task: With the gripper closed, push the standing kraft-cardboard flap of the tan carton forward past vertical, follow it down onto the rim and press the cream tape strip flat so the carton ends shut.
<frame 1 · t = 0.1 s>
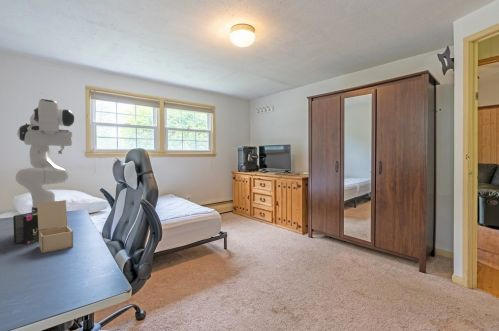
hand: (49, 153, 134), 48 cm above the table, fingers open, 8 cm apart
lid: (52, 214, 130), point 15 cm above the table, hinge at 105.0°
tampon box: (31, 240, 133), on the table
carton: (55, 246, 123), on the table
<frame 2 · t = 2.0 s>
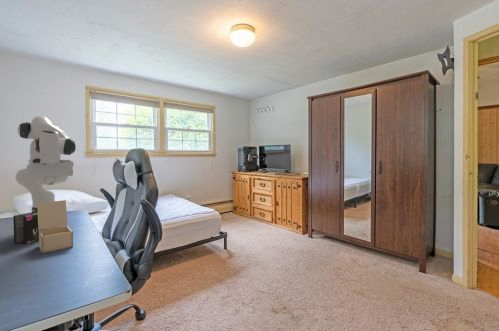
hand: (50, 185, 133), 30 cm above the table, fingers closed
nothing on the table moved.
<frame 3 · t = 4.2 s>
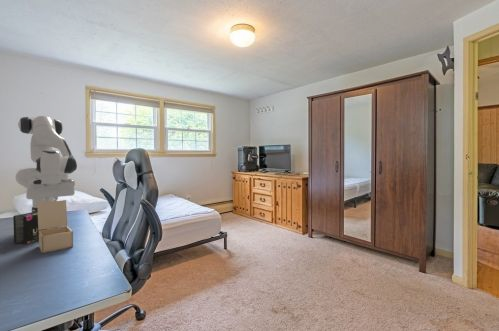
hand: (51, 205, 131), 19 cm above the table, fingers closed, pressing on lid
lid: (52, 214, 130), point 15 cm above the table, hinge at 101.4°, touching gripper
everything else where it was.
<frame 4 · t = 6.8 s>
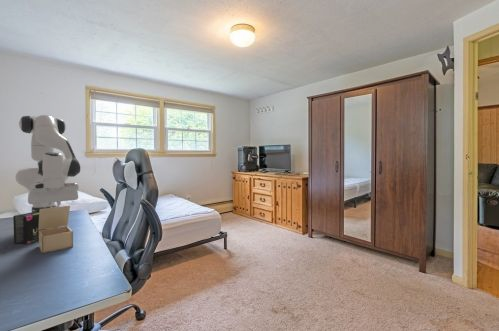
hand: (54, 210, 125), 18 cm above the table, fingers closed, pressing on lid
lid: (54, 217, 126), point 14 cm above the table, hinge at 55.2°, touching gripper
everything else where it was.
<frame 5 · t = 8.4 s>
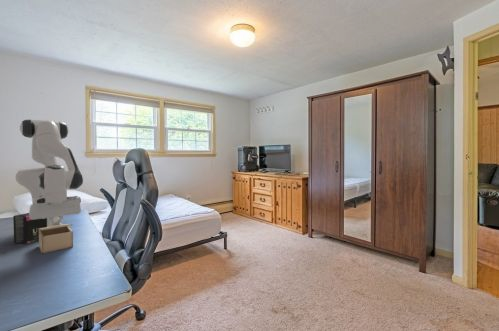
hand: (56, 225, 121), 12 cm above the table, fingers closed, pressing on lid
lid: (55, 226, 124), point 10 cm above the table, hinge at 11.3°, touching gripper
everything else where it was.
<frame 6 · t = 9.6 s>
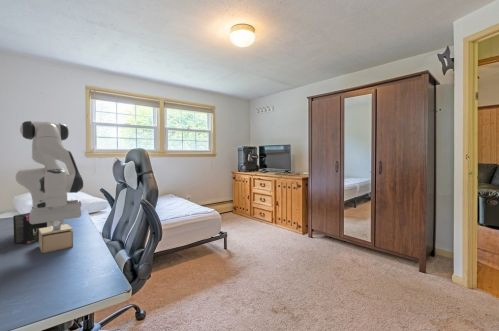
hand: (56, 229, 120), 10 cm above the table, fingers closed, pressing on lid
lid: (55, 229, 123), point 9 cm above the table, hinge at 1.9°, touching gripper
everything else where it was.
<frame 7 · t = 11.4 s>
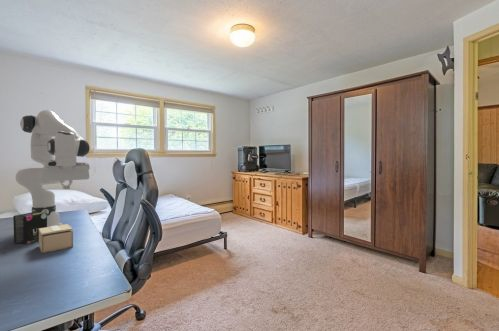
hand: (66, 189, 126), 29 cm above the table, fingers closed
lid: (55, 229, 123), point 9 cm above the table, hinge at 1.8°
everything else where it was.
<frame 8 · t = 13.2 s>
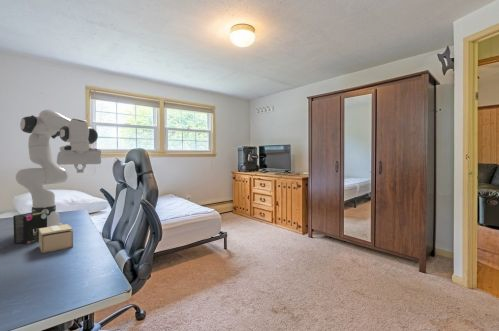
hand: (80, 172, 135), 37 cm above the table, fingers closed
nothing on the table moved.
at the end: lid at +2° (first picture: +105°); lid touching nothing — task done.
